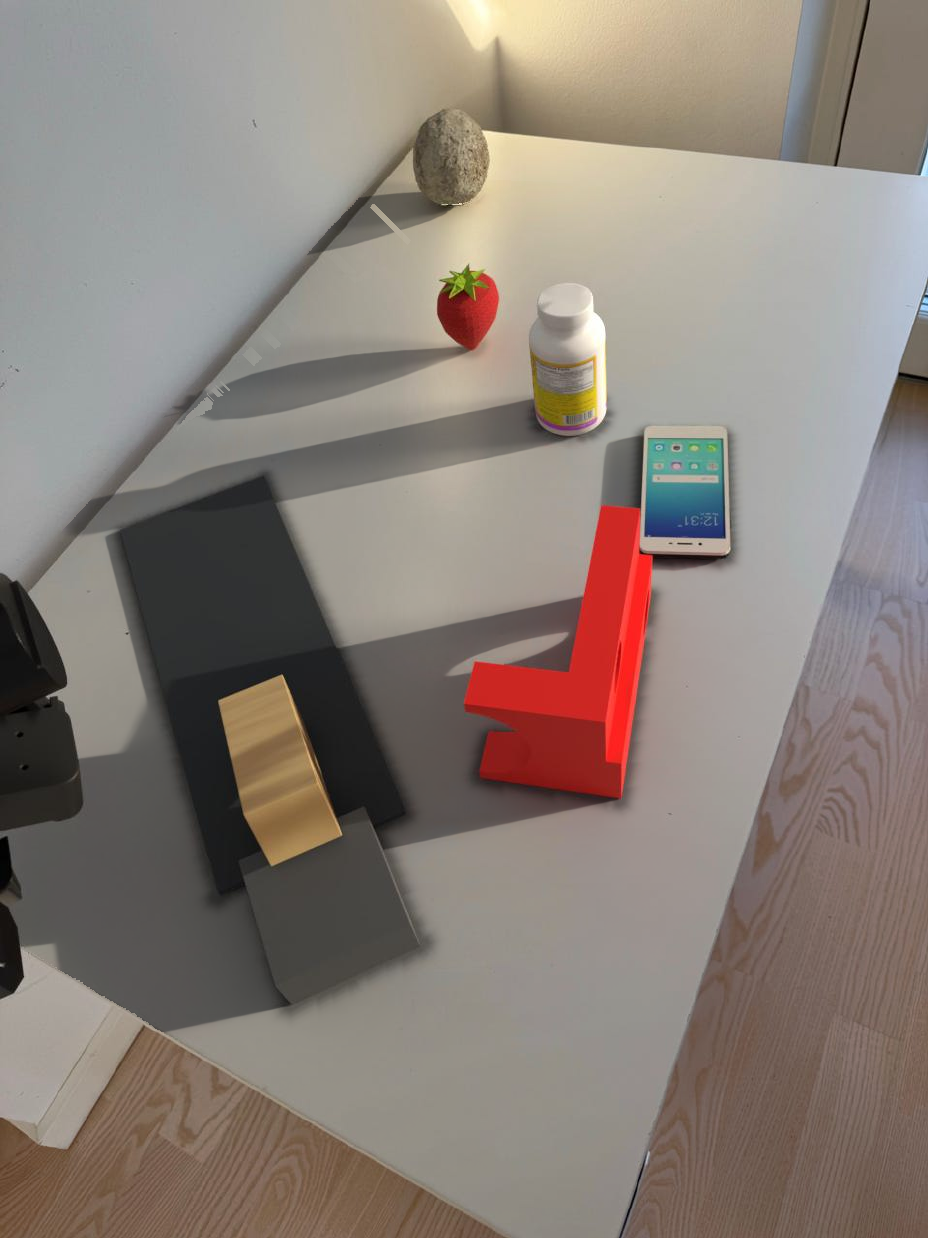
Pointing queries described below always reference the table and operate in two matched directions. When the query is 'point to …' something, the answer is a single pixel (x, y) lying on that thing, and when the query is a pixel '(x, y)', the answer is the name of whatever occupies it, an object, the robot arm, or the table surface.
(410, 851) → the table surface
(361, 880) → the stand
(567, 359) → the supplement bottle
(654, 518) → the smartphone
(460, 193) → the decorative stone
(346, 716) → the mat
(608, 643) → the bracket
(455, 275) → the strawberry
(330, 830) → the maple block
